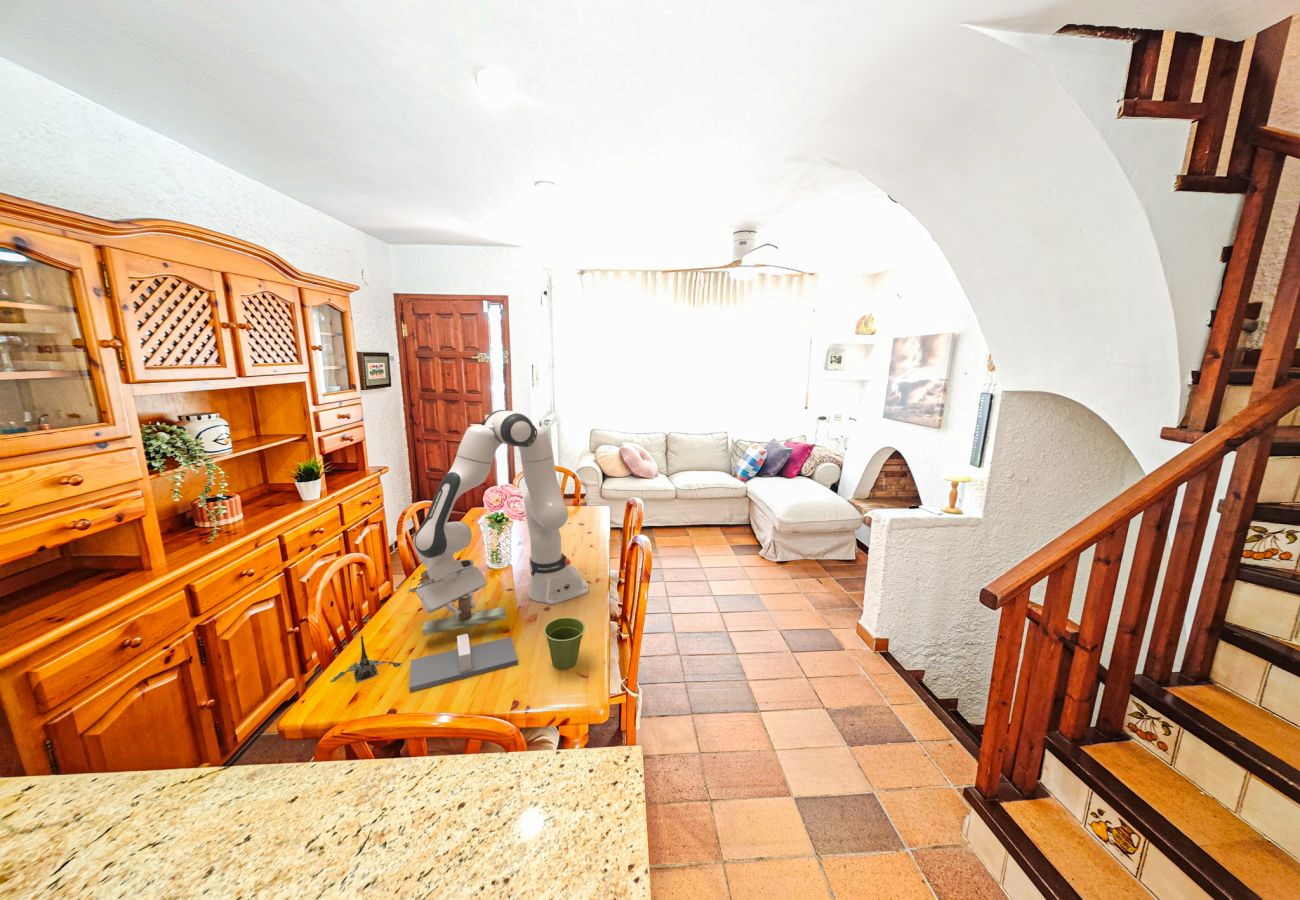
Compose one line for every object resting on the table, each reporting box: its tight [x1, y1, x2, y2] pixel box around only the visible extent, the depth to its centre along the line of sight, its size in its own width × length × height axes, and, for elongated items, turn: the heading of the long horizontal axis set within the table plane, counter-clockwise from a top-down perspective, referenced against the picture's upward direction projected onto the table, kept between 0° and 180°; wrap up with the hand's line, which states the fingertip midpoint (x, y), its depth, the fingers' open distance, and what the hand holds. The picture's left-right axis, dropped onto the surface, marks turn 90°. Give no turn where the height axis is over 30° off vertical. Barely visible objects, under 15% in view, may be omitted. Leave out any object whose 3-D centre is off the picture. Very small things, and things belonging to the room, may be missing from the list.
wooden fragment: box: [407, 570, 431, 593], centre depth 183 cm, size 26×11×1 cm, turn 173°
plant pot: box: [543, 616, 586, 671], centre depth 134 cm, size 12×12×11 cm
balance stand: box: [408, 633, 519, 693], centre depth 132 cm, size 28×12×6 cm, turn 115°
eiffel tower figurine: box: [330, 632, 404, 684], centre depth 128 cm, size 15×10×13 cm
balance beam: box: [422, 596, 507, 637], centre depth 144 cm, size 24×4×8 cm, turn 112°
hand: (466, 611), depth 144 cm, fingers closed on balance beam, 3 cm apart
